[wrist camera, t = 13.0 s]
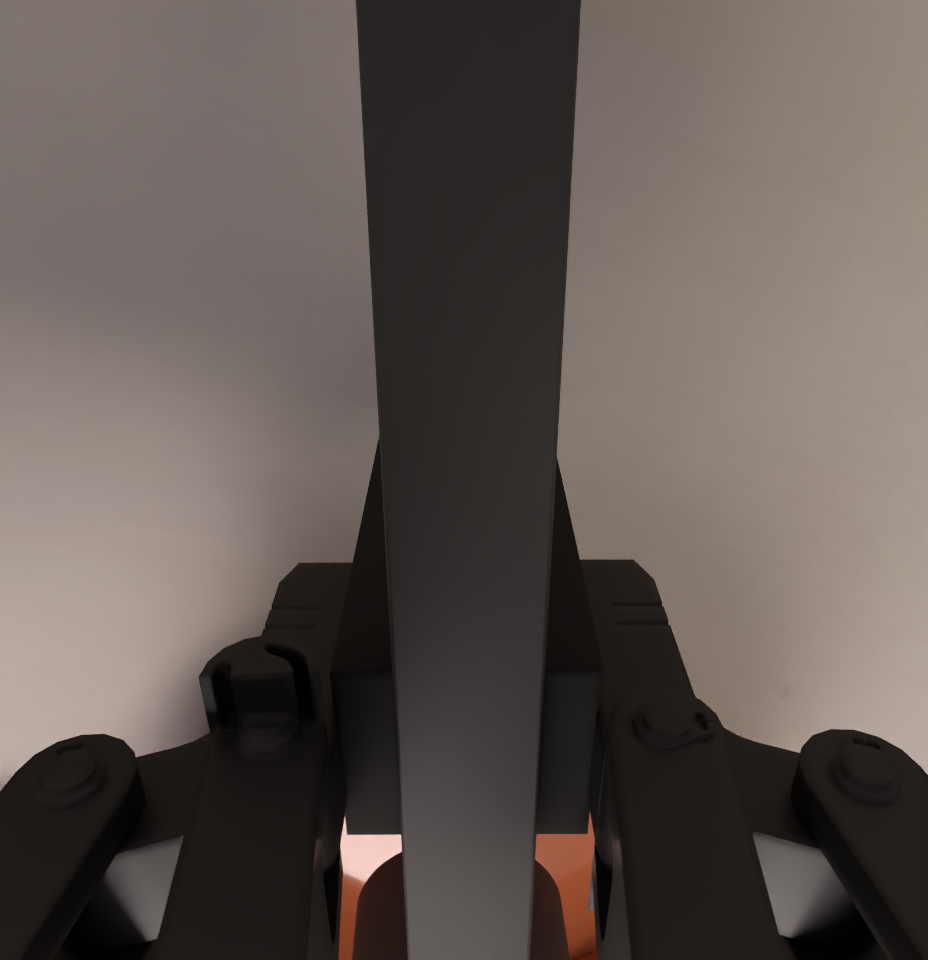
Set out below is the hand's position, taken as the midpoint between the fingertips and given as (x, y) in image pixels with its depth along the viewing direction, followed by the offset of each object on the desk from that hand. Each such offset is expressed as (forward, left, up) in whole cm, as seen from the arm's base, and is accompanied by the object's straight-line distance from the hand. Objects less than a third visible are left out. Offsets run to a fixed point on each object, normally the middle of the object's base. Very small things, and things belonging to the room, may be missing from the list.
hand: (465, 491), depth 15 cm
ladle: (0, +3, 0) cm, 3 cm away
